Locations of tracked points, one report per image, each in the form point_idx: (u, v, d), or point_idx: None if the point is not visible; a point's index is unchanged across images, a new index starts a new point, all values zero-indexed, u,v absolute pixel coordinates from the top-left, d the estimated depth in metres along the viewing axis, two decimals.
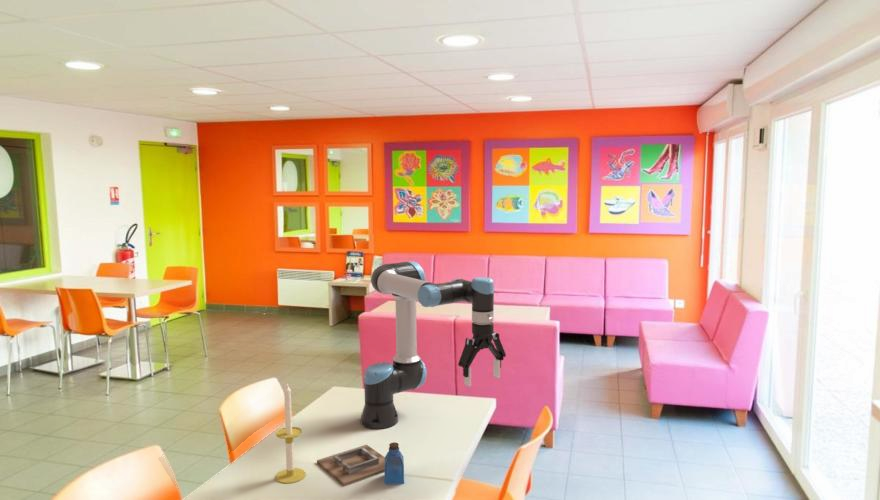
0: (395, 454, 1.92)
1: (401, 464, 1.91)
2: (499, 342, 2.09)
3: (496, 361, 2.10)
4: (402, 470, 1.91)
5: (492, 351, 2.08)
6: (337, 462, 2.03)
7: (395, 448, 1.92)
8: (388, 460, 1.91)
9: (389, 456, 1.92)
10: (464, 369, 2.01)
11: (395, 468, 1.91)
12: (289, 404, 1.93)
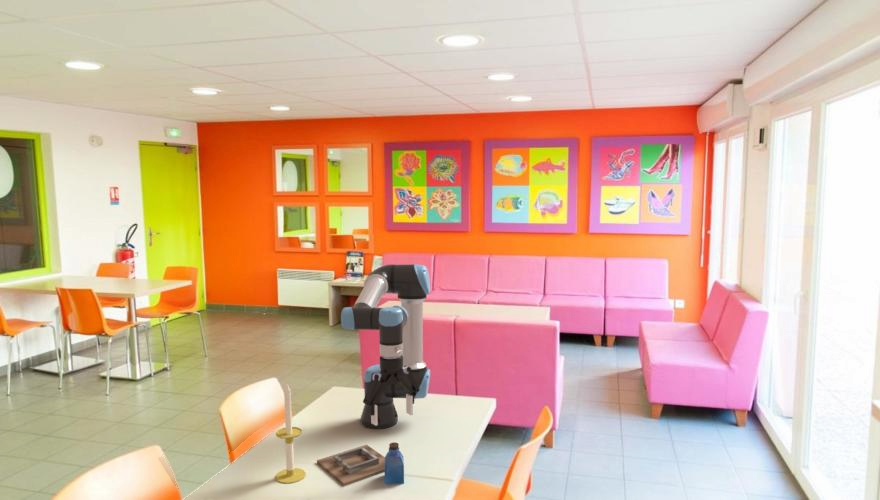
0: (395, 454, 1.92)
1: (401, 464, 1.91)
2: (411, 376, 1.94)
3: (408, 397, 1.95)
4: (402, 470, 1.91)
5: (403, 386, 1.94)
6: (337, 462, 2.03)
7: (395, 448, 1.92)
8: (388, 460, 1.91)
9: (389, 456, 1.92)
10: (369, 407, 1.86)
11: (395, 468, 1.91)
12: (289, 404, 1.93)
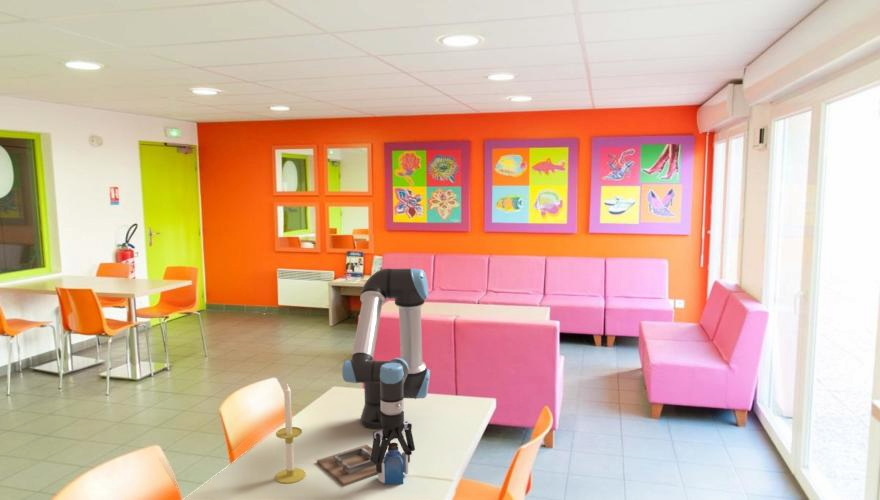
0: (394, 454, 1.92)
1: (400, 464, 1.91)
2: (410, 433, 1.96)
3: (404, 456, 1.96)
4: (401, 470, 1.91)
5: (401, 443, 1.95)
6: (337, 462, 2.03)
7: (394, 448, 1.92)
8: (387, 460, 1.91)
9: (388, 456, 1.92)
10: (377, 465, 1.90)
11: (394, 468, 1.91)
12: (289, 404, 1.93)
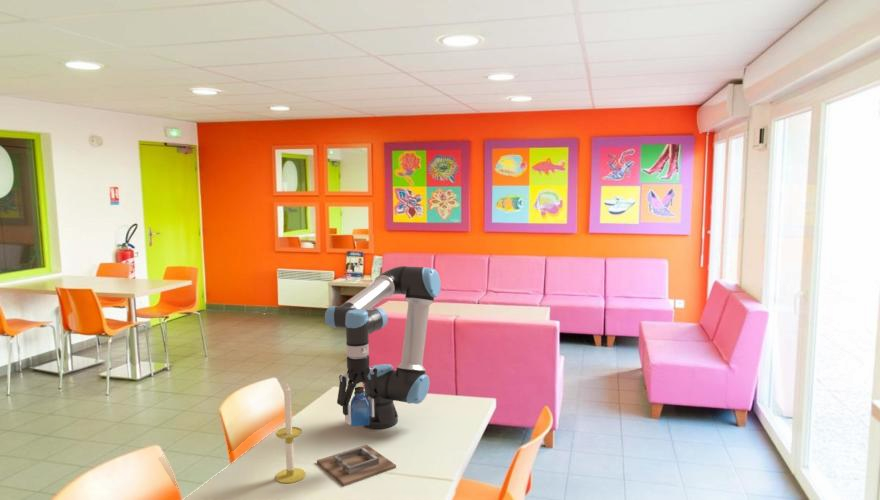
0: (360, 397, 1.99)
1: (366, 406, 1.98)
2: (376, 378, 2.03)
3: (370, 400, 2.03)
4: (367, 412, 1.98)
5: (367, 387, 2.02)
6: (337, 462, 2.03)
7: (360, 391, 1.99)
8: (353, 403, 1.98)
9: (354, 399, 1.99)
10: (343, 407, 1.97)
11: (360, 411, 1.98)
12: (289, 404, 1.93)
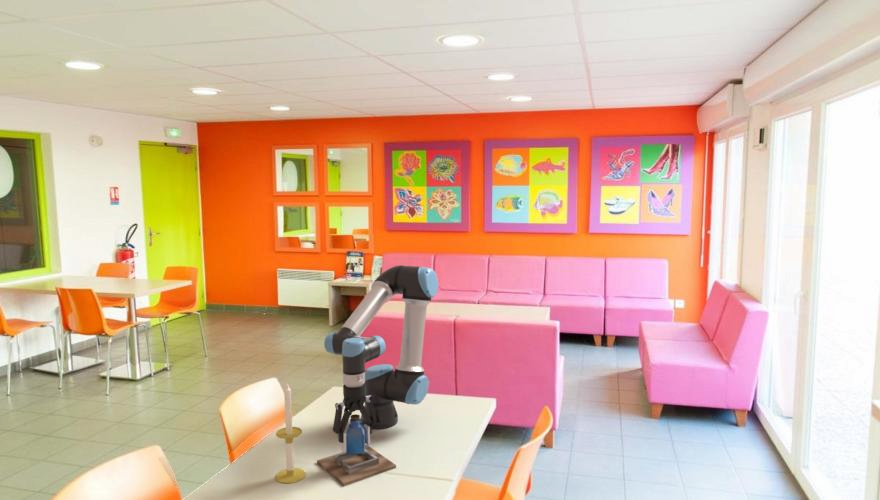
0: (356, 425, 2.01)
1: (361, 434, 2.00)
2: (372, 406, 2.05)
3: (366, 427, 2.05)
4: (362, 440, 2.00)
5: (363, 415, 2.04)
6: (337, 462, 2.03)
7: (356, 419, 2.01)
8: (349, 431, 2.00)
9: (350, 427, 2.01)
10: (339, 435, 1.99)
11: (355, 439, 2.00)
12: (289, 404, 1.93)
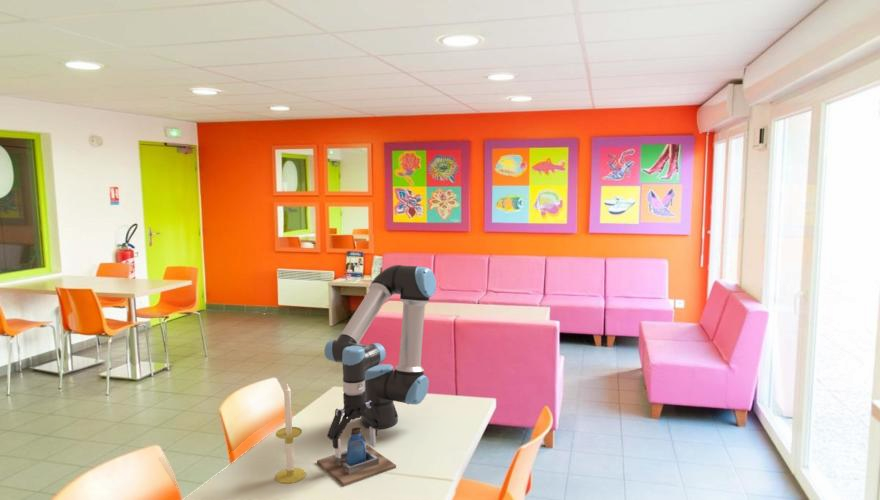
0: (357, 438, 2.02)
1: (363, 447, 2.01)
2: (374, 411, 2.05)
3: (371, 429, 2.07)
4: (364, 453, 2.01)
5: (366, 420, 2.05)
6: (337, 462, 2.03)
7: (357, 432, 2.02)
8: (350, 444, 2.01)
9: (351, 440, 2.02)
10: (333, 440, 1.98)
11: (357, 452, 2.01)
12: (289, 404, 1.93)
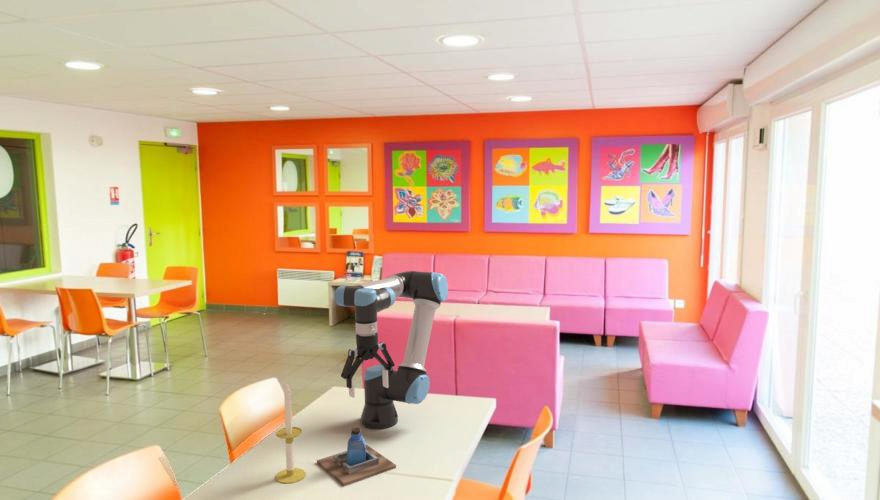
0: (357, 438, 2.02)
1: (363, 447, 2.01)
2: (386, 352, 2.08)
3: (384, 371, 2.10)
4: (364, 453, 2.01)
5: (379, 361, 2.08)
6: (337, 462, 2.03)
7: (357, 432, 2.02)
8: (350, 444, 2.01)
9: (351, 440, 2.02)
10: (347, 380, 2.01)
11: (357, 452, 2.01)
12: (289, 404, 1.93)
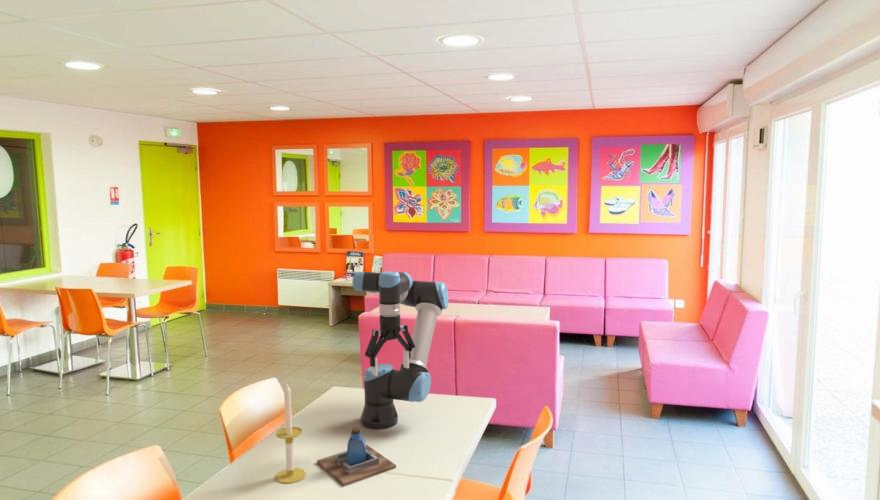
0: (357, 438, 2.02)
1: (363, 447, 2.01)
2: (407, 334, 2.17)
3: (405, 352, 2.19)
4: (364, 453, 2.01)
5: (401, 342, 2.17)
6: (337, 462, 2.03)
7: (357, 432, 2.02)
8: (350, 444, 2.01)
9: (351, 440, 2.02)
10: (370, 359, 2.10)
11: (357, 452, 2.01)
12: (289, 404, 1.93)
